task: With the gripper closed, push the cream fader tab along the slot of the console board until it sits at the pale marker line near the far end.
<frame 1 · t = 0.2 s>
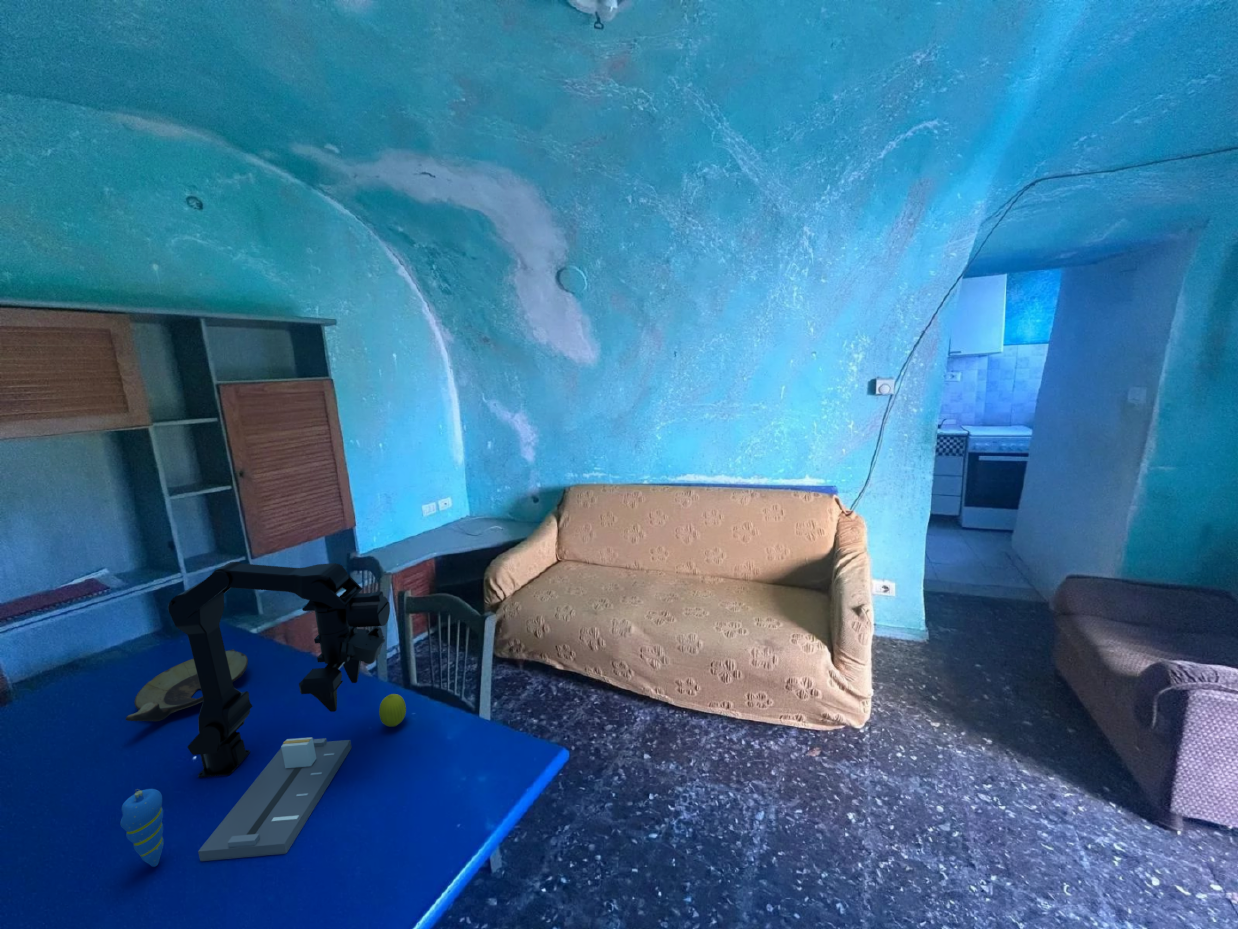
hand: (344, 696, 104), 14 cm above the table, fingers open, 9 cm apart
ornament: (157, 866, 84), on the table
lemon: (395, 726, 115), on the table
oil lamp: (186, 701, 128), on the table
fader tab: (298, 752, 101), point 5 cm above the table, slide at 0.0 cm
console: (285, 797, 96), on the table
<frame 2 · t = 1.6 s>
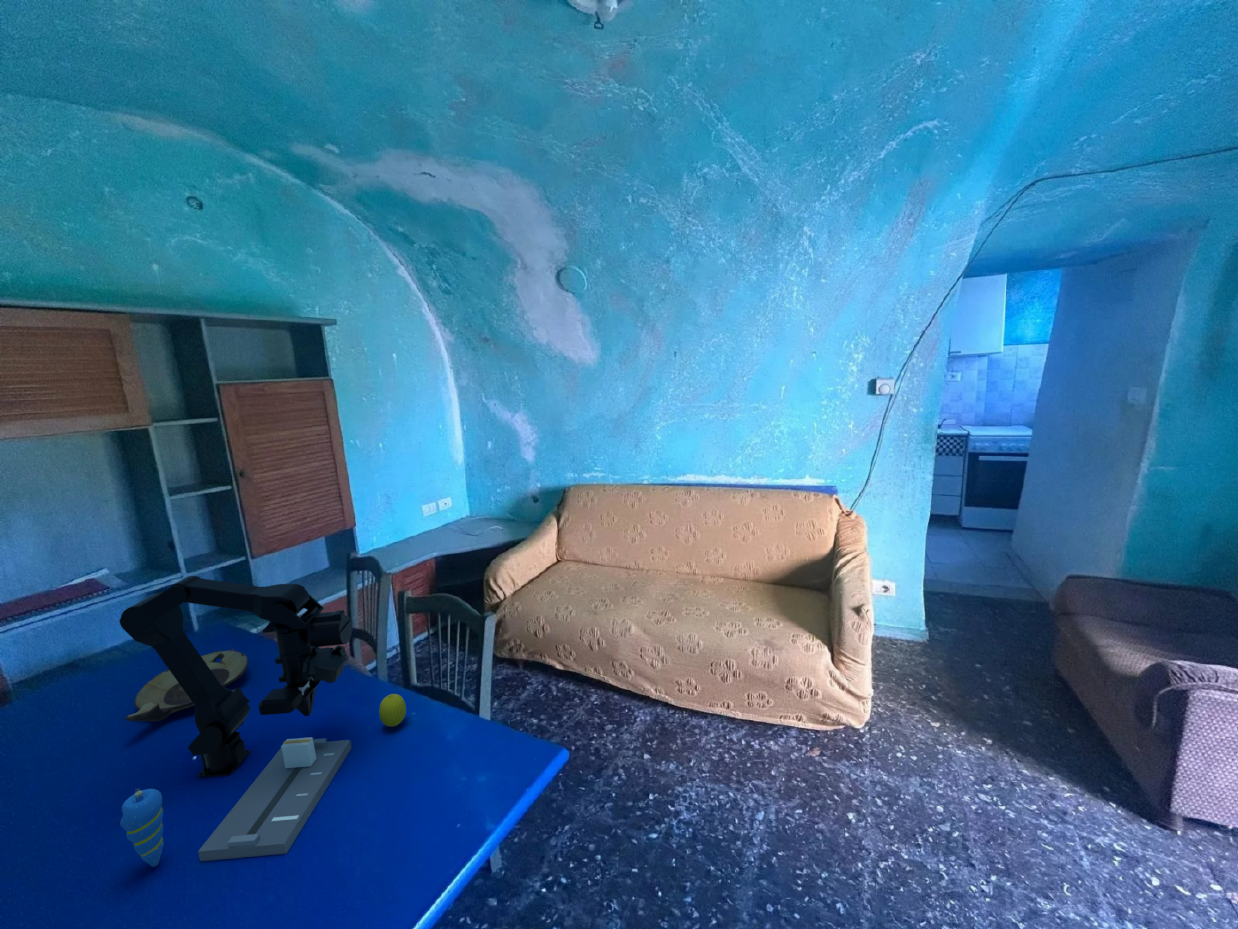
hand: (308, 714, 105), 10 cm above the table, fingers closed
nothing on the table moved.
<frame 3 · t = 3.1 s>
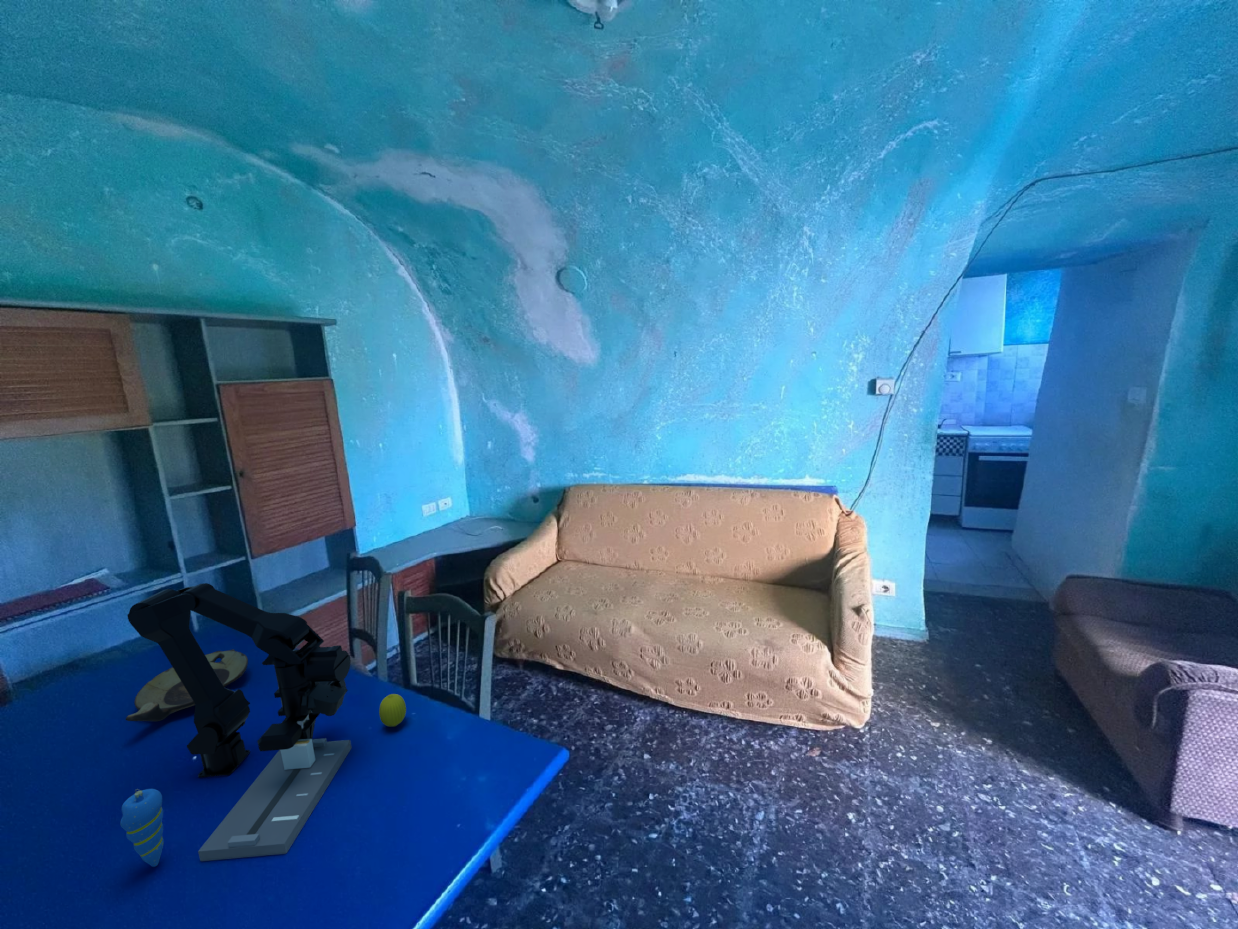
hand: (307, 747, 104), 4 cm above the table, fingers closed
fader tab: (297, 753, 101), point 5 cm above the table, slide at 0.4 cm, touching gripper
everything else where it was.
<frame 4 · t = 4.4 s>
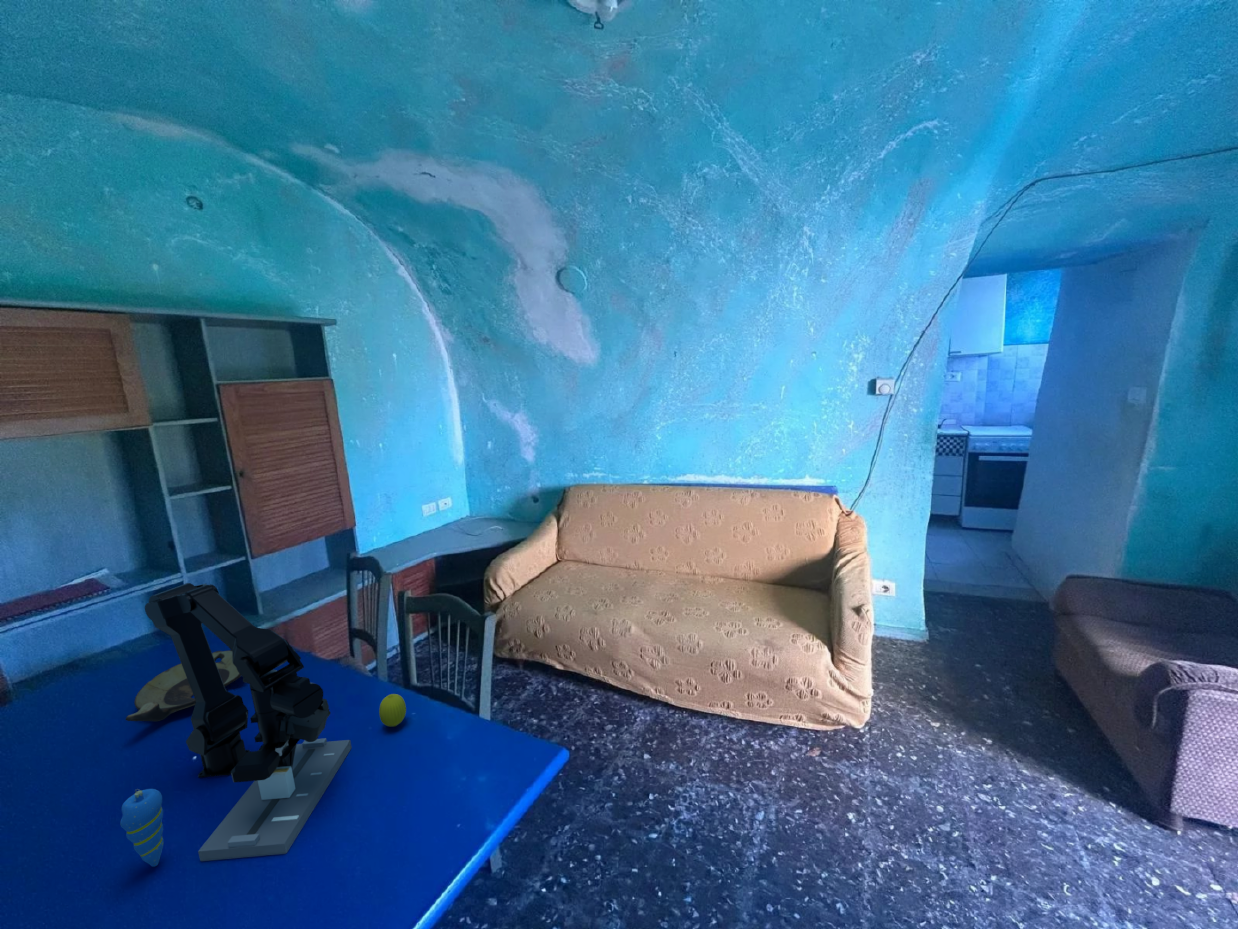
hand: (287, 774, 97), 4 cm above the table, fingers closed
fader tab: (276, 782, 94), point 5 cm above the table, slide at 7.5 cm, touching gripper
everything else where it was.
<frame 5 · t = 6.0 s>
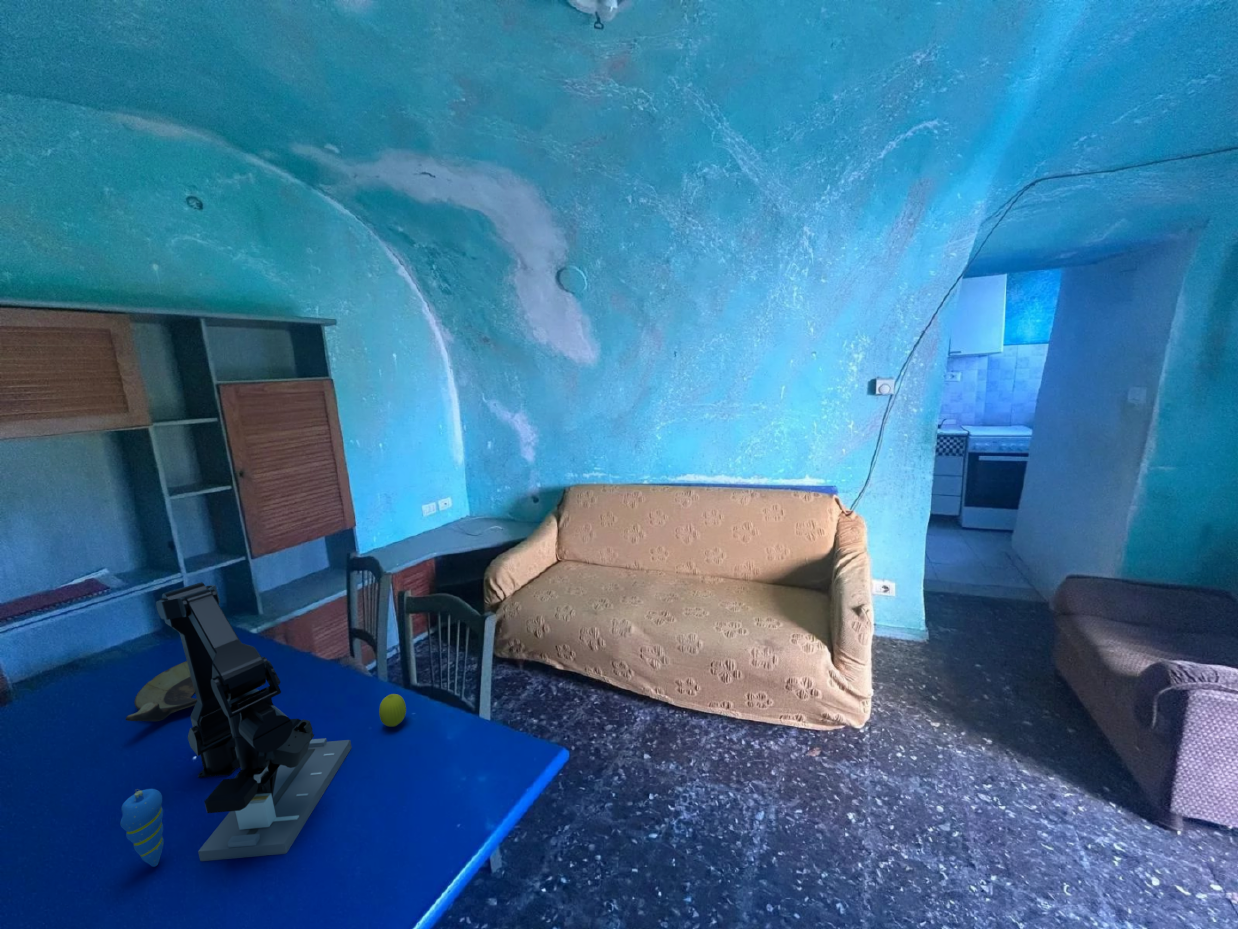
hand: (268, 801, 91), 4 cm above the table, fingers closed
fader tab: (255, 810, 88), point 5 cm above the table, slide at 13.6 cm, touching gripper
everything else where it was.
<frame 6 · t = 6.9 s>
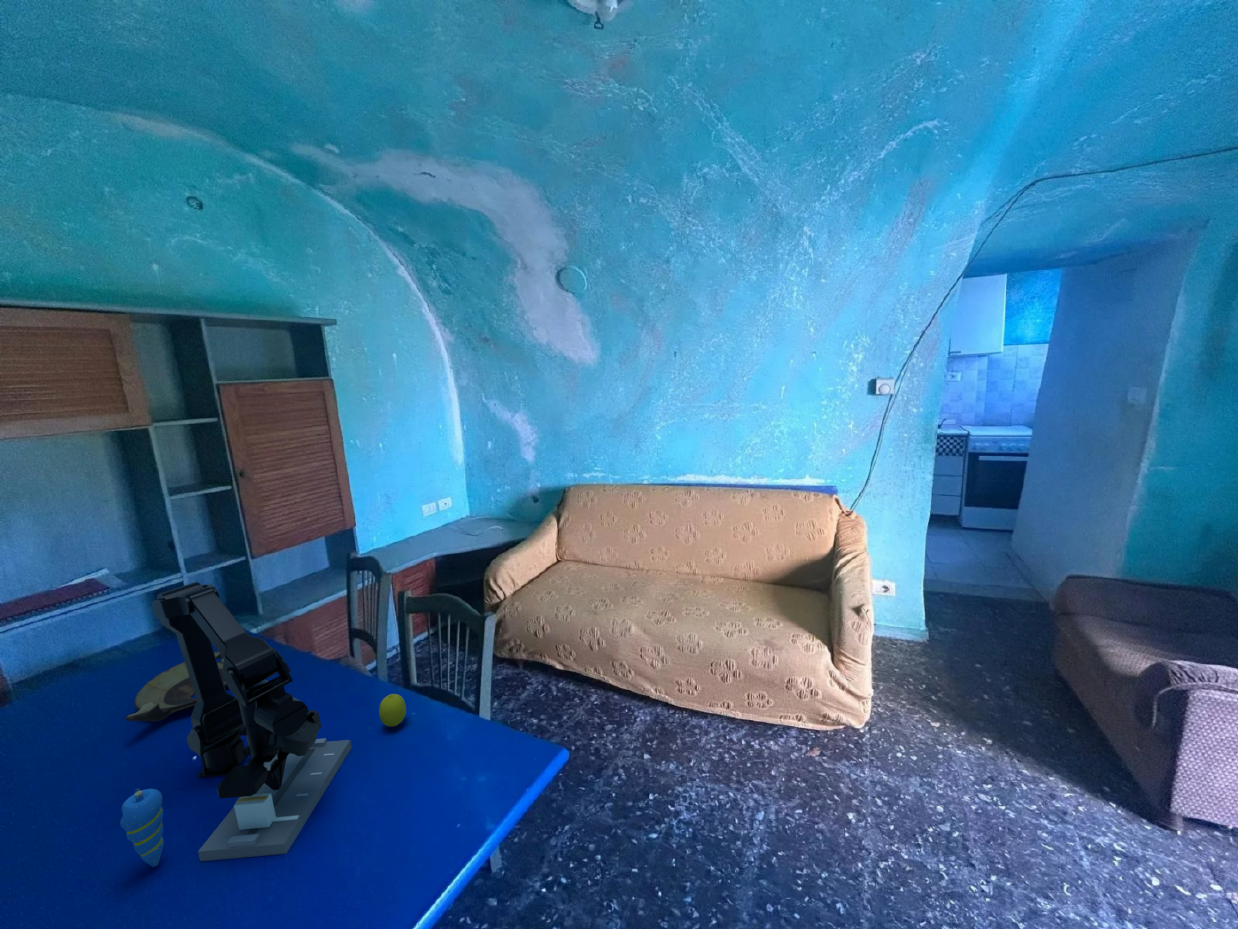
hand: (277, 788, 94), 3 cm above the table, fingers closed
fader tab: (255, 811, 88), point 5 cm above the table, slide at 13.6 cm
everything else where it was.
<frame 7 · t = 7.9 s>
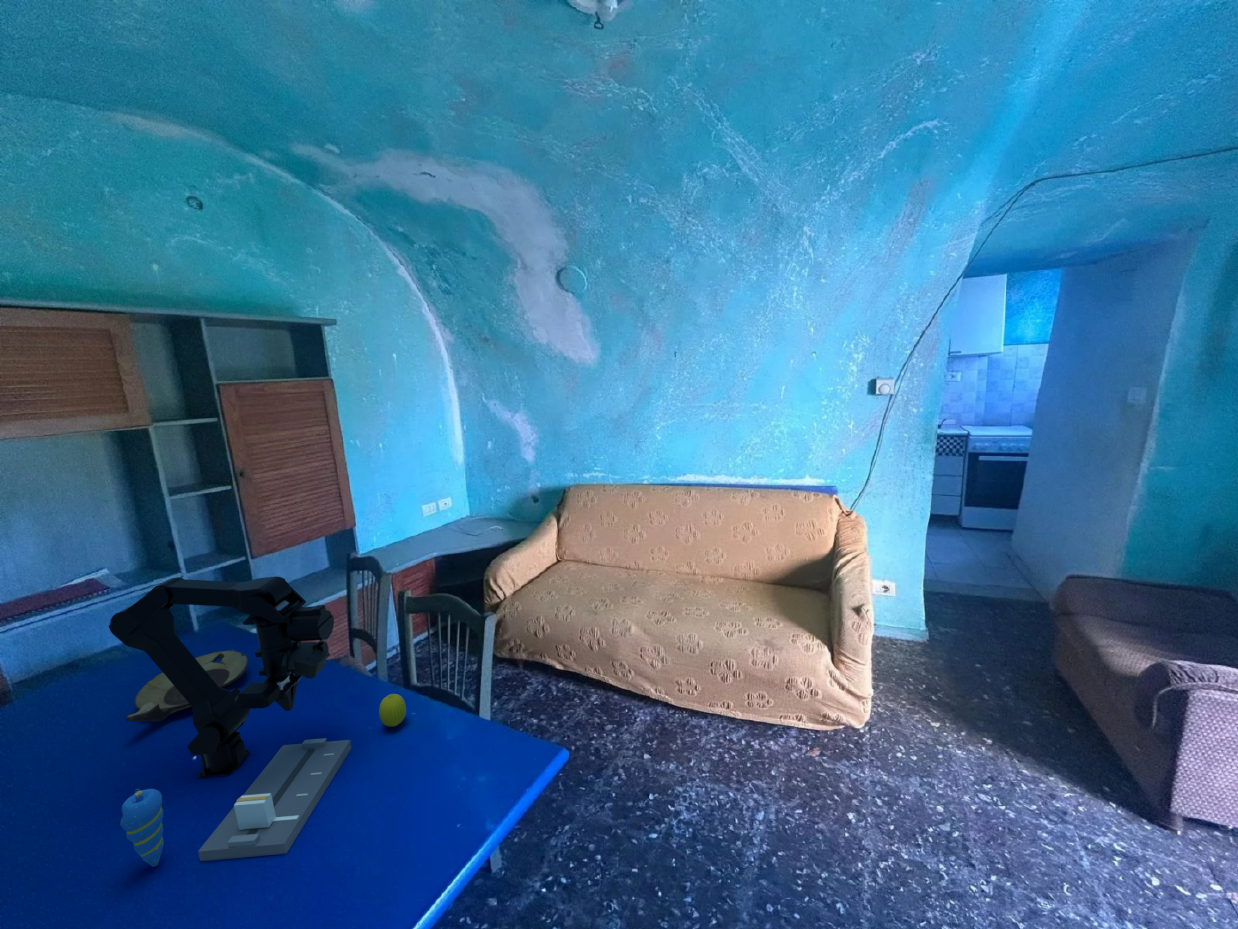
hand: (289, 709, 104), 12 cm above the table, fingers closed
nothing on the table moved.
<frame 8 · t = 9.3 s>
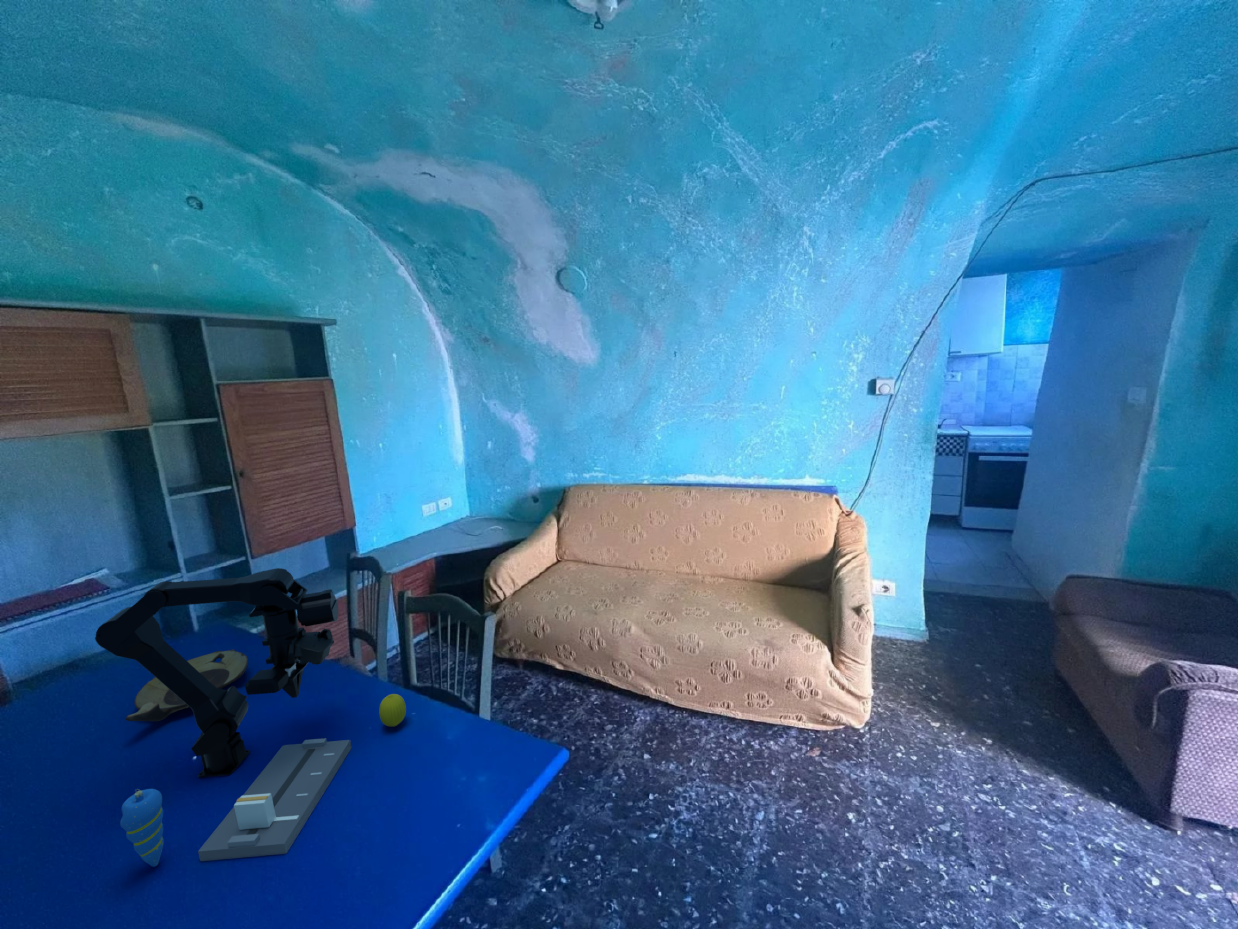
hand: (295, 696, 108), 12 cm above the table, fingers closed
nothing on the table moved.
at the end: fader tab slide at 13.6 cm; fader tab 0.4 cm from the target spot, resting on console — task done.
